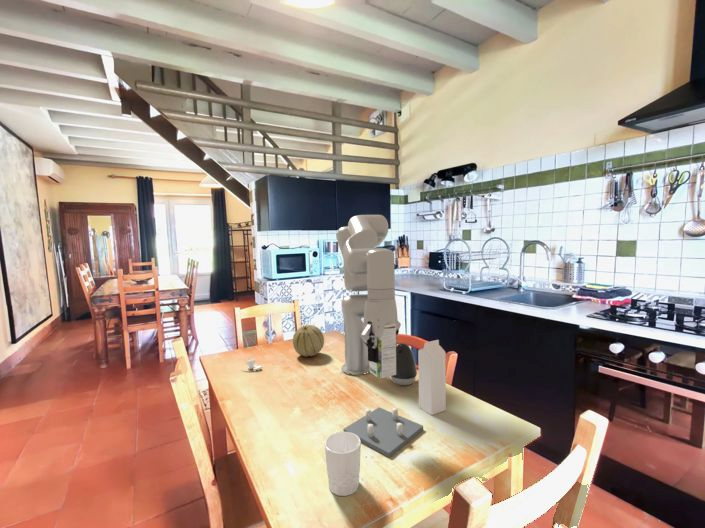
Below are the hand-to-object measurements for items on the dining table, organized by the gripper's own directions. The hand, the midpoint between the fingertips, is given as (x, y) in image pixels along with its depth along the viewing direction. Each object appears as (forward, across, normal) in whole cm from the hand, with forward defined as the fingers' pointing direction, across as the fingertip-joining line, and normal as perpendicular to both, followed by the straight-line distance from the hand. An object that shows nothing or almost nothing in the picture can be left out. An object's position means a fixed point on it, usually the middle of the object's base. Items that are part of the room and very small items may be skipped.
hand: (382, 357), depth 91 cm
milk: (+22, -20, +4) cm, 30 cm away
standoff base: (+22, 0, 0) cm, 22 cm away
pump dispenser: (+22, -30, -14) cm, 40 cm away
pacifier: (+22, +2, -70) cm, 73 cm away
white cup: (+22, +22, +6) cm, 31 cm away
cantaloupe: (+21, -26, -65) cm, 74 cm away
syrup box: (+5, 0, 0) cm, 5 cm away
